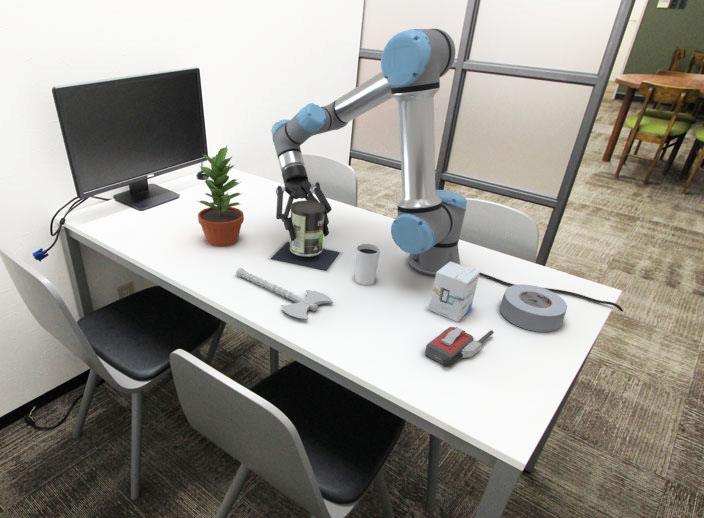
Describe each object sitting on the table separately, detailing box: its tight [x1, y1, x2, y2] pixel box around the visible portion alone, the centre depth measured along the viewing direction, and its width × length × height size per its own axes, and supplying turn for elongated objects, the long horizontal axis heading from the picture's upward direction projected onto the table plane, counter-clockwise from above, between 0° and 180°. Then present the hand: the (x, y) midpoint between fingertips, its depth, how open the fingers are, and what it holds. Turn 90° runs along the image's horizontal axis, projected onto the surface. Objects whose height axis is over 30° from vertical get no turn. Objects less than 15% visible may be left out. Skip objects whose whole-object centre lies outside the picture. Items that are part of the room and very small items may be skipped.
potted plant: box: [197, 145, 245, 247], centre depth 155 cm, size 15×15×30 cm
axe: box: [235, 267, 334, 320], centre depth 135 cm, size 30×14×2 cm, turn 50°
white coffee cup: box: [354, 243, 381, 286], centre depth 141 cm, size 7×7×10 cm
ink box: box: [428, 261, 481, 323], centre depth 129 cm, size 8×8×12 cm
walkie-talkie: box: [424, 326, 495, 367], centre depth 117 cm, size 9×4×20 cm
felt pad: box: [270, 241, 341, 272], centre depth 155 cm, size 18×13×1 cm
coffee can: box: [289, 200, 325, 256], centre depth 151 cm, size 10×10×14 cm
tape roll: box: [499, 284, 568, 333], centre depth 129 cm, size 15×15×5 cm
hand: (310, 237), depth 149 cm, fingers closed on coffee can, 10 cm apart
